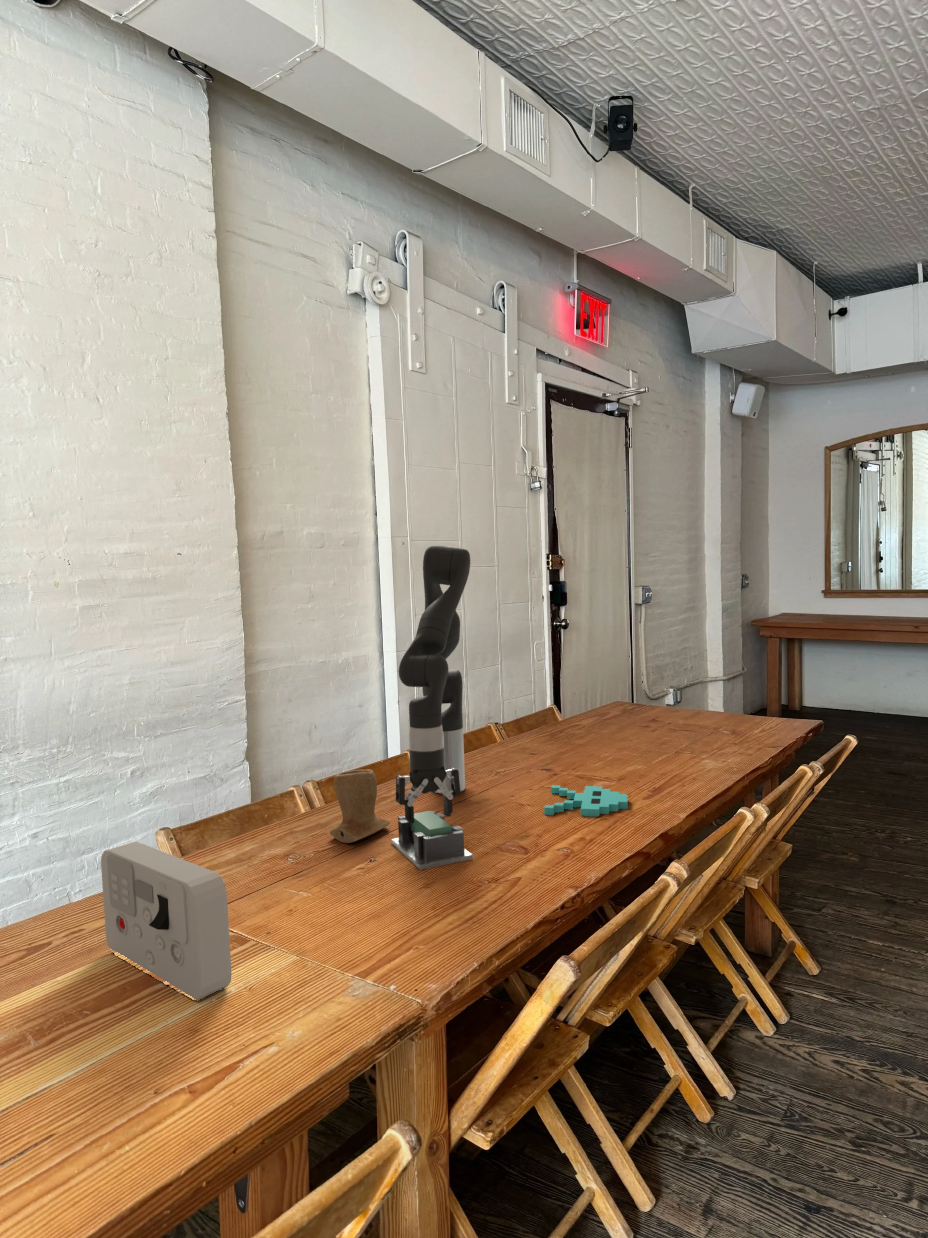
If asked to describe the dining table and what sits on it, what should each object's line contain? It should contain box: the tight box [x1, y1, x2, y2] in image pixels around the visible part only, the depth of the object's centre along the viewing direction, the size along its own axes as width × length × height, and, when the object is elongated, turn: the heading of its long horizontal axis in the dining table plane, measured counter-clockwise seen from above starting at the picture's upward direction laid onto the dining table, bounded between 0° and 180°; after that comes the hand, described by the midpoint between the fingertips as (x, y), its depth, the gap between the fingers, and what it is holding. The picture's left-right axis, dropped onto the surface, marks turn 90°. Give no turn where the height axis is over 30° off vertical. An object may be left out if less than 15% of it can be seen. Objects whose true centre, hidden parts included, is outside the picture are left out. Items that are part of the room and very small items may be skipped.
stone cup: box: [329, 768, 391, 844], centre depth 195 cm, size 15×12×15 cm
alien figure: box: [543, 784, 629, 817], centre depth 213 cm, size 20×2×20 cm
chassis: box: [390, 810, 474, 870], centre depth 182 cm, size 18×12×6 cm, turn 24°
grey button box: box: [100, 841, 233, 1001], centre depth 131 cm, size 29×8×18 cm, turn 50°
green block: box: [410, 810, 452, 837], centre depth 182 cm, size 12×5×3 cm, turn 24°
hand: (429, 818), depth 182 cm, fingers open, 8 cm apart
